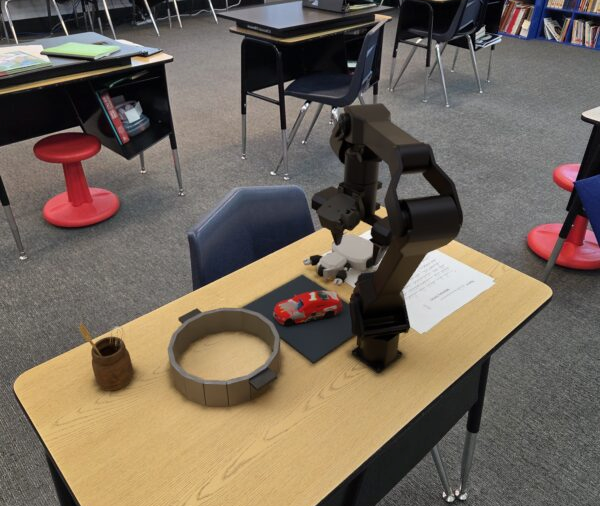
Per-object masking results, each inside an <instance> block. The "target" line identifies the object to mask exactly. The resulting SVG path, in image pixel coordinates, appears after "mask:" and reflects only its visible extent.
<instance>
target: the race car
mask: <svg viewBox="0 0 600 506" xmlns="http://www.w3.org/2000/svg"><path fill="white" fill-rule="evenodd" d="M340 299H341V298H340V296H339V294H338V293H337V292H336V291H333V290H328V291H313V292H307V293H303V294H300V295H298V296H296V294H295V297H294V298H291V299H288V300H285V301H282V302H279V303H278V304H277V305H276V306H275V308H274V311H273V316H274V318H275V320H276V321H277V322H278V323H280V324H283V325H284V323H285V325H286V326H292V325H293V324H294V322H295V323H301V322H306V321H311V320H316V319H321V318H324V316H325V317H326V318H331V317H333V315H334V314H335V315H337V314H339V313H340V312H341V311H342V303H341V301H340Z"/></svg>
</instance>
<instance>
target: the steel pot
mask: <svg viewBox="0 0 600 506" xmlns="http://www.w3.org/2000/svg"><path fill="white" fill-rule="evenodd" d="M178 322H180V323H181V324H180V326H179V327H178V328H177V329H176V330H175V331H174V332H173V333H172V335H171V338H170V340H169V344H168V346H167V355H168V360H169V365H170V372H171V376H172V381H173V385H174V387H175V388H176V389H177V390H178V391H179V392H180V393H181V395H183V397H185V398H186V399H187V400H189V401H192V402H194V403H197V404H200V405H202V406H205V407H223V408H224V407H225V408H226V407H234V406H237V405H240V404H243V403H247V402H251V401H253V400H254V399H256V398H257V397H259V396H260V395H262V394H263V393H265V392H266V391H268V390H269V389H270V388H271V386H272V385H273V383H274V382H275V381H276V380H277V379H278V376H279V373H280V366H281V338H280V336H279V334H278V332H277V330H276V328H275V326H274V324H273V323H272V322H271V321H269V320H268V319H267V318H265V317H264V316H263V315H261V314H260V313H257V312H254V311H250V310H247V309H244V308H242V307H219V308H214V309H210V310H205V311H201V310H200V309H199V308H197V307H196V308H194V309H192V310H190V311H188V312H186V313H184V314H183V315H180V316H179V317H178ZM223 332H235V333H236V332H241V333H242V332H243V333H246V334H248V335H251V336H254V337H257V338H259V339H260V340H262V341H263V342H264V343H265V344H266V345H268V346H269V347H270V349H271V351H272V352H271V354H270V355H269V357H268V358H267V359H266V360H265V362H264V364H262V365H261V366H259V367H257V368H256V369H254V370H253V371H251V372H249V373H248V374H246V375H243V376H239V377H235V378H231V379H228V380H219V379H218V380H216V379H215V380H214V379H204V378H201V377H198V376H196V375H194V374H190V373H187V371H185V369H183V368H182V366H181V365H180V364H179V363H180V359H181V356H182V355H183V354H184V353H185V352H186V351H187V350H188V348H189V347H190V346H191V345H192V344H194V343H196V342H198V341H200V340H202V339H203V338H205V337H207V336H210V335H215V334H219V333H223Z"/></svg>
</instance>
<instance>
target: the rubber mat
mask: <svg viewBox="0 0 600 506" xmlns="http://www.w3.org/2000/svg"><path fill="white" fill-rule="evenodd" d="M313 291H329V290H328V289H326V288H324V287H323V286H321V285H320V284H318V283H317V282H315V281H314V280H312V279H310V278H308V277H307V276H305V275H304V274H300V275H299V276H297V277H295V278H293V279H291V280H289V281H288V282H286V283H284V284H282V285H280V286H279V287H277V288H275V289H273V290H271V291H269V292H267V293H266V294H264V295H263V296H260V297H258V298H256V299H255V300H253V301H251V302H248V303H247V304H245V305H244V306H241V308H244V309H247V310H250V311H254V312H257V313H260V314H261V315H263V316H264V317H265V318H267V319H268V320H269V321H271V322H272V323H273V324H274V326H275V328H276V330H277V332H278V334H279V336H280V340H282V341H284V342H285V344H287V345H288V346H290V347H291V348H293V350H295V351H296V352H298V353H299V354H300V355H301V356H303V357H304V358H305V359H307V360H308V361H309V362H310V363H312V364H316V363H317V362H318V361H320V360H321V359H323V358H324V357H325V356H327V355H328V354H330V353H332V352H333V351H334V350H336V349H337V348H339V347H340V346H342V345H343V344H345V343H346V342H348V341H349V340H350V339H352V338H354V337H355V336H356V335H355V334H352V332H351V328H352V323H351V315H350V308H349V302H347V301H345V300H344V299H342V298H340V301H341V303H342V311H341V312H340V313H339V314H337V315H335V314H334V315H333V317H331V318H326V317H325V316H324V318H321V319H316V320H311V321H306V322H301V323H295V322H294V324H293V325H292V326H286V325H285V323H284V325H283V324H280V323H278V322H277V321H276V320H275V318H274V316H273V311H274V308H275V306H276V305H277V304H278V303H279V302H282V301H285V300H288V299H291V298H294V297H295V294H296V296H298V295H300V294H303V293H307V292H313Z"/></svg>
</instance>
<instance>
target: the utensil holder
mask: <svg viewBox="0 0 600 506" xmlns="http://www.w3.org/2000/svg"><path fill="white" fill-rule="evenodd" d="M115 329H116V330H115ZM120 329H121V330H120ZM78 330H79V332H80V333H81V335H82V337H83V338H84V340H85V342H86V343H89V344H90V346H92V347H91V350H90V351H91V353H90V355H91V358H92V359H91V366H92V371H93V374H94V378H95V381H96V383H97V385H98V386H99V388H101V389H103V390H105V391H116V390H120V389H122V388H124V387H125V386H127V385H128V384H129V383H130V382H131V380H132V379H133V376H134V367H133V363H132V359H131V355H130V352H129V350H128V349H127V346H126V344H125V342H124V341H125V340H124V339H123V338H120V337H119V336H112V335H109V336H106V337H102V338H100V339H98V340H97V341H96V342H95V343H94V342H93V340H92V336H91V334H90V332H89V331H88V330H87V328H86V326H85V325H84V324H83V322H79V327H78ZM118 330H119V333H120V334H121V337H124V332H125V331H124V329H123V327H122V326H121V325H116V326H115V325H114V326H112V327H111V328H110V329H109V331H108V332H110V331H111V333H110V334H113V331H116V333H118Z"/></svg>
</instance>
